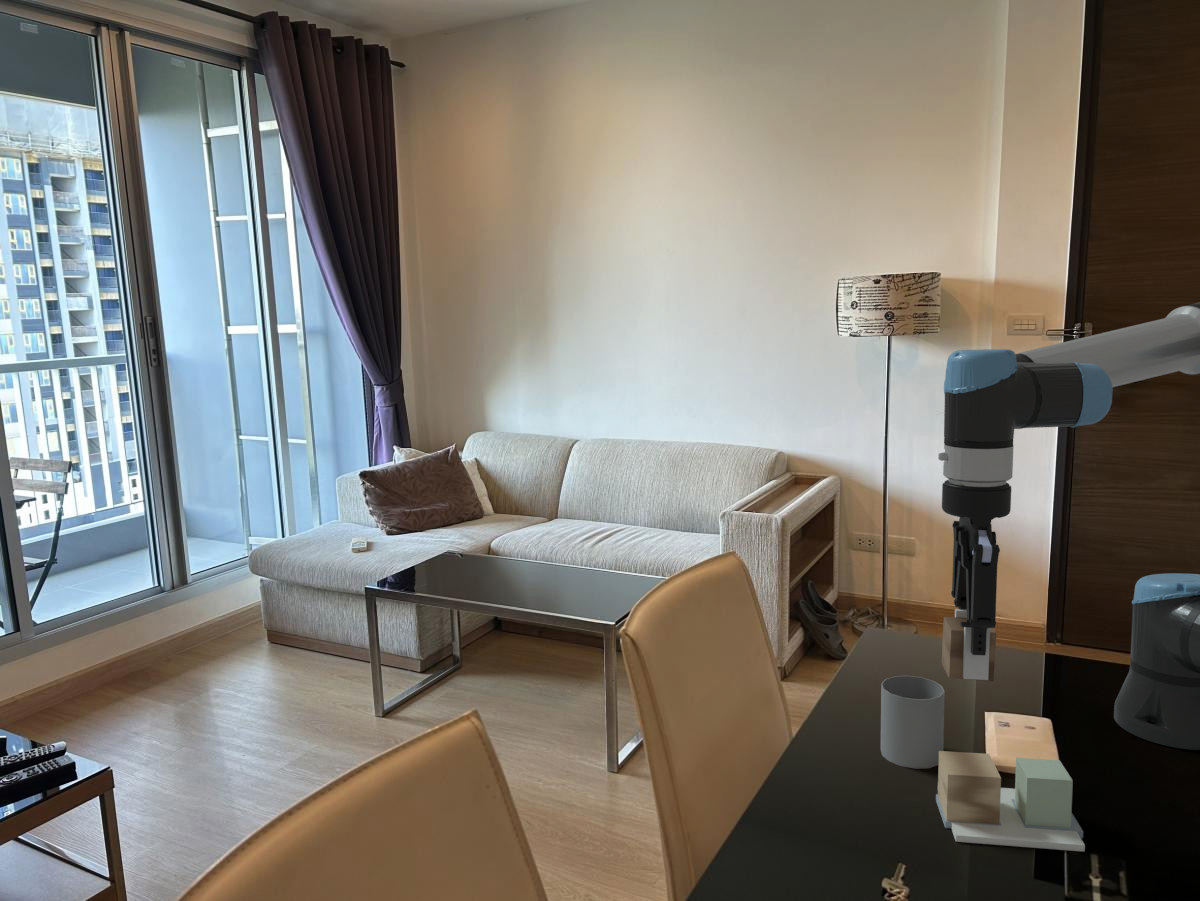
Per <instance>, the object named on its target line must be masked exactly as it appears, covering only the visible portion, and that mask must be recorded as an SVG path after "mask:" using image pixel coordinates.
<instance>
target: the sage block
mask: <svg viewBox="0 0 1200 901" xmlns="http://www.w3.org/2000/svg"><path fill="white" fill-rule="evenodd" d="M1014 777H1015V780H1014V782H1015V784H1014V789H1015V804H1016V806H1017V808H1018V811H1019V813H1020V815H1021V817H1022V819H1023V821H1024V823H1025V825H1037V826H1051V827H1064V828H1071V812H1072V810H1073V809H1072V807H1073V787H1074V786H1073V784H1074V783H1073V782H1074V781H1073V778H1072V777H1071V776H1070V774H1069V772H1068V771H1067V769H1066V768H1065V766H1064V765H1063V763H1062V762H1061V760H1060V759H1059V760H1058V759H1046V758H1045V759H1044V758H1031V757H1030V758H1028V757H1016V758H1015V775H1014Z"/></svg>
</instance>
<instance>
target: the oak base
mask: <svg viewBox="0 0 1200 901" xmlns="http://www.w3.org/2000/svg"><path fill="white" fill-rule="evenodd" d="M937 774H938V776H937V778H938V779H937V794H938V797H939V800H940V803H941V805H942V808H943V811H944V814H945V817H946V820H947V821H957V822H971V823H984V824H998V825H1000V794H1001V788H1002V777H1001V775H1000V773H999V771H998V769H997V767H996V764H995V763H994V761H993V759H992V756H991V755H990V753H980V752H979V753H978V752H961V751H950V750H949V751H947V750H943V751H939V765H938V773H937Z"/></svg>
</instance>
